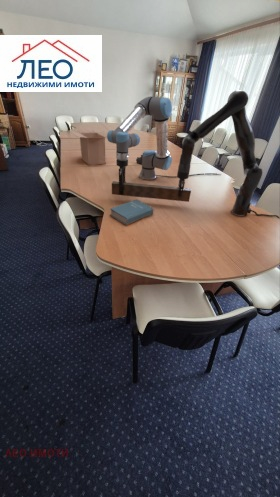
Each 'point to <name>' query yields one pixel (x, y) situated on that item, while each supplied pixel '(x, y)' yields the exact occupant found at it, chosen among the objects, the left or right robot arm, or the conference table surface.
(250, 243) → the conference table surface
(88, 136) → the box
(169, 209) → the conference table surface
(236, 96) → the right robot arm
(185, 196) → the beam
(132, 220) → the book
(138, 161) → the laser sight
